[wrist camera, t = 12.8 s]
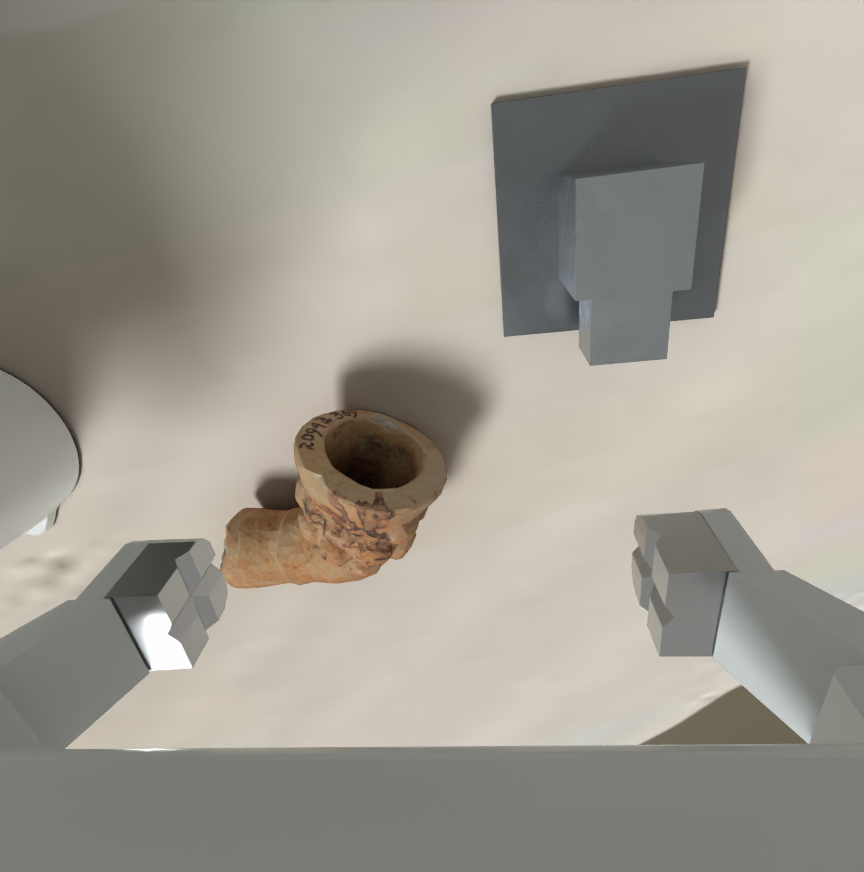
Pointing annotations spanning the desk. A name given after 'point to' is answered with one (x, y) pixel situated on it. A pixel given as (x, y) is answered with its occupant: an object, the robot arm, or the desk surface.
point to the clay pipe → (339, 504)
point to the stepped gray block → (628, 253)
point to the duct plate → (599, 149)
